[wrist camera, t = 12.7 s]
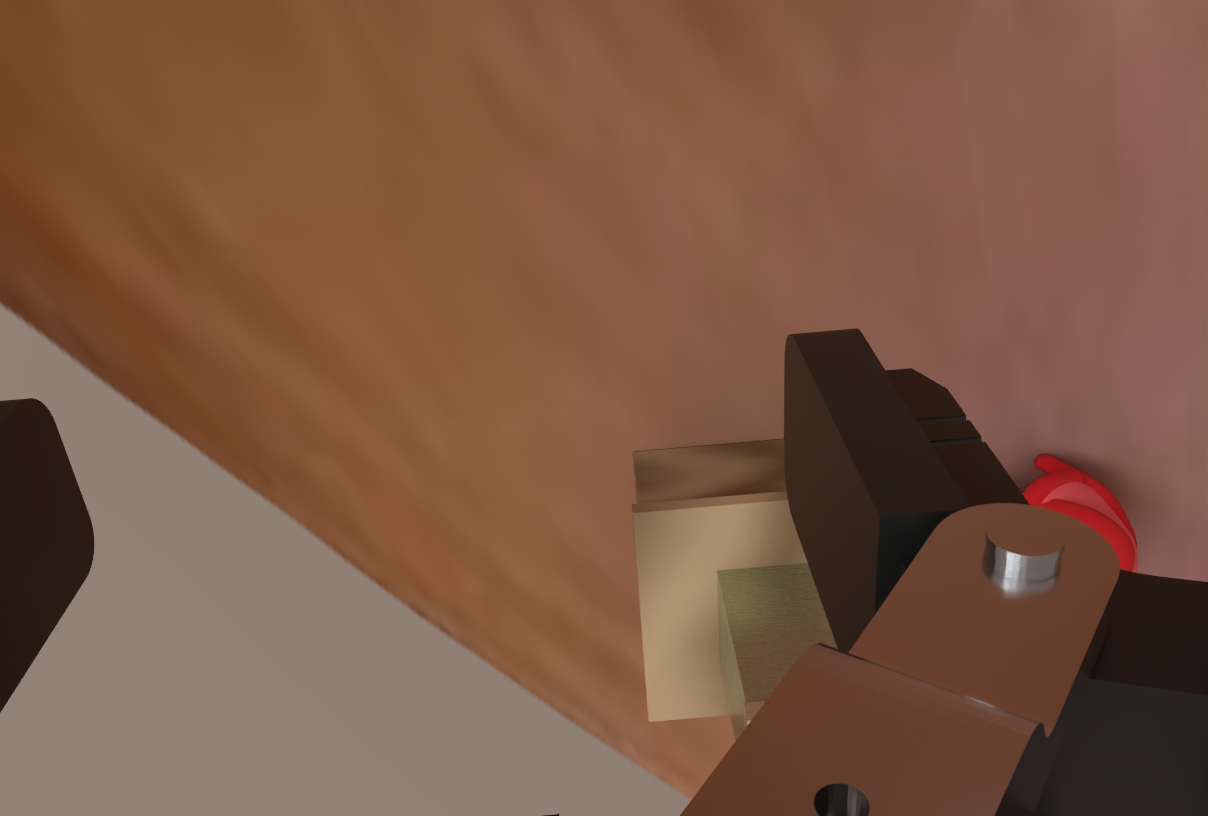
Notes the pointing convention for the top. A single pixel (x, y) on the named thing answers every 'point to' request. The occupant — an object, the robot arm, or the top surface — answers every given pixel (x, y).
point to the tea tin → (765, 631)
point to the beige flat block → (701, 559)
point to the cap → (1084, 505)
